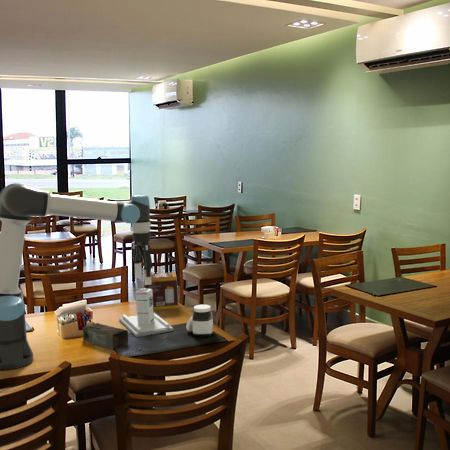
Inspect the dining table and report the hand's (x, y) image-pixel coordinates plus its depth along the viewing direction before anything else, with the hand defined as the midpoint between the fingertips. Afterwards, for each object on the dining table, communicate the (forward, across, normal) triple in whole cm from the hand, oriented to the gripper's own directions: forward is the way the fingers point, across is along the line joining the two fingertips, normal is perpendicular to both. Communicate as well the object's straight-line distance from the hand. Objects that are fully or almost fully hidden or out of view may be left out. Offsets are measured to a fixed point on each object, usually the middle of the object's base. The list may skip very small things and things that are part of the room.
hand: (143, 281), depth 241 cm
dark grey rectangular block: (+21, -12, +20) cm, 31 cm away
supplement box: (+20, +26, -17) cm, 37 cm away
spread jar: (+20, -21, -17) cm, 33 cm away
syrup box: (+18, 0, -1) cm, 18 cm away
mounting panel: (+20, +1, -1) cm, 20 cm away
